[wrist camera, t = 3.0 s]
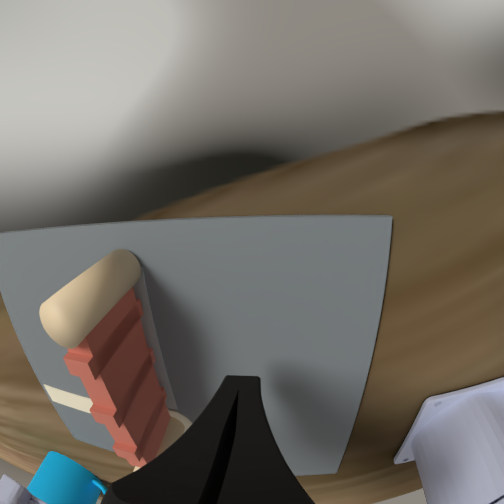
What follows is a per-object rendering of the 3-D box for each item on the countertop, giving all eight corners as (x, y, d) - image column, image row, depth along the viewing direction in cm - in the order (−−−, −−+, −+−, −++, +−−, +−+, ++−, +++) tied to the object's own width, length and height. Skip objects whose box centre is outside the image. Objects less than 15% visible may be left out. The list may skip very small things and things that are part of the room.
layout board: (389, 215, 11) (393, 217, 11) (336, 470, 18) (336, 474, 17) (-12, 233, 13) (-16, 235, 13) (76, 436, 20) (74, 439, 19)
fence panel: (177, 412, 16) (153, 478, 11) (150, 408, 16) (122, 470, 11) (137, 248, 12) (70, 303, 7) (103, 249, 12) (33, 298, 8)
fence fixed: (154, 408, 16) (122, 481, 11) (183, 412, 16) (156, 490, 11) (180, 468, 19) (163, 525, 14) (204, 472, 19) (190, 531, 13)
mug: (72, 479, 26) (53, 518, 18) (38, 445, 24) (12, 486, 16) (139, 498, 24) (121, 548, 16) (103, 466, 22) (76, 522, 14)
